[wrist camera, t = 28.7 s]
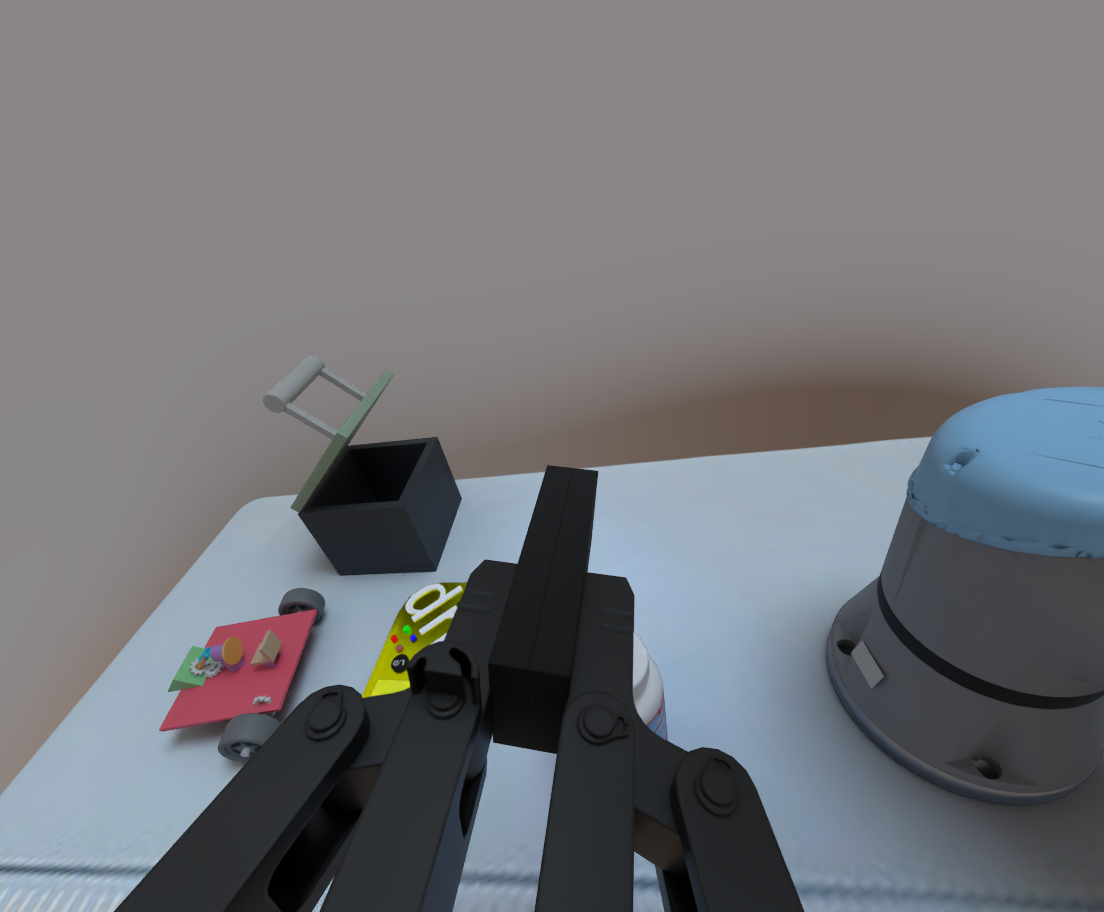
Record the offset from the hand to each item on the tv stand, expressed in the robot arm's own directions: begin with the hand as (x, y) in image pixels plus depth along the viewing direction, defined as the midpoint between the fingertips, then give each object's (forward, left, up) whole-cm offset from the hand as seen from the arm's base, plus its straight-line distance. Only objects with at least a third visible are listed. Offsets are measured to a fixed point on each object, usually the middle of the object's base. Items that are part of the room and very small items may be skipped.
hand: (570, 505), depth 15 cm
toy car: (+25, -27, -30) cm, 48 cm away
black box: (+8, -39, -30) cm, 49 cm away
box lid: (+9, -39, -15) cm, 43 cm away
